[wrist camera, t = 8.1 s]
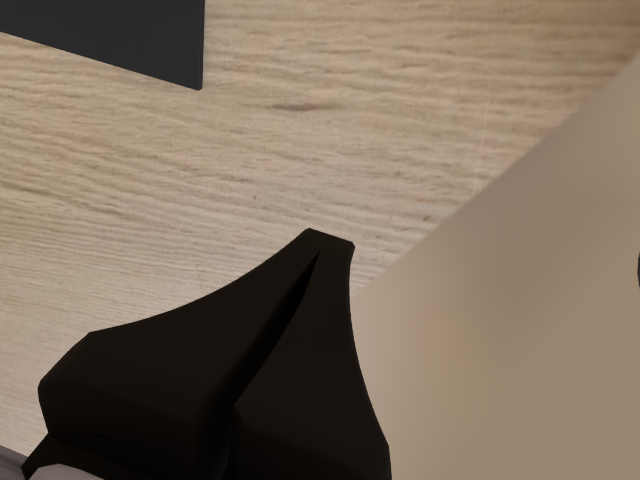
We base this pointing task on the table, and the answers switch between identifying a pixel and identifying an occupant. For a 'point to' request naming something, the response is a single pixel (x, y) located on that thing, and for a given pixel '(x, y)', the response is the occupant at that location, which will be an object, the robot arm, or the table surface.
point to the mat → (118, 33)
